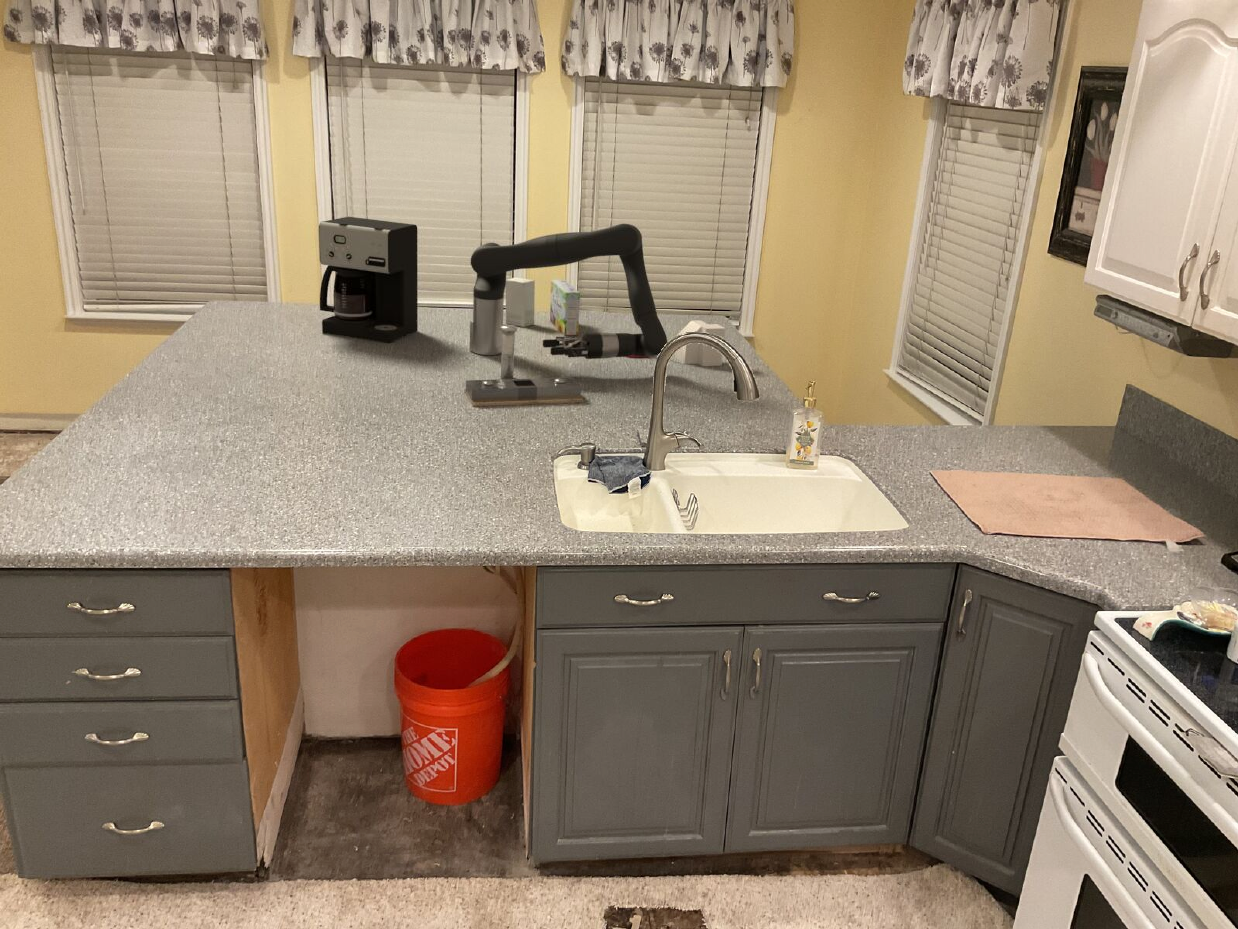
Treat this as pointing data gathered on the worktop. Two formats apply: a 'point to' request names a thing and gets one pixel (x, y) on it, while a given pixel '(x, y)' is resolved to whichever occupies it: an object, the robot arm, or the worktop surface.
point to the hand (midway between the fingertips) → (546, 347)
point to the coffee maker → (369, 278)
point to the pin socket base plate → (523, 391)
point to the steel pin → (507, 351)
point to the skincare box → (520, 301)
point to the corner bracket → (700, 346)
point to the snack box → (564, 307)
